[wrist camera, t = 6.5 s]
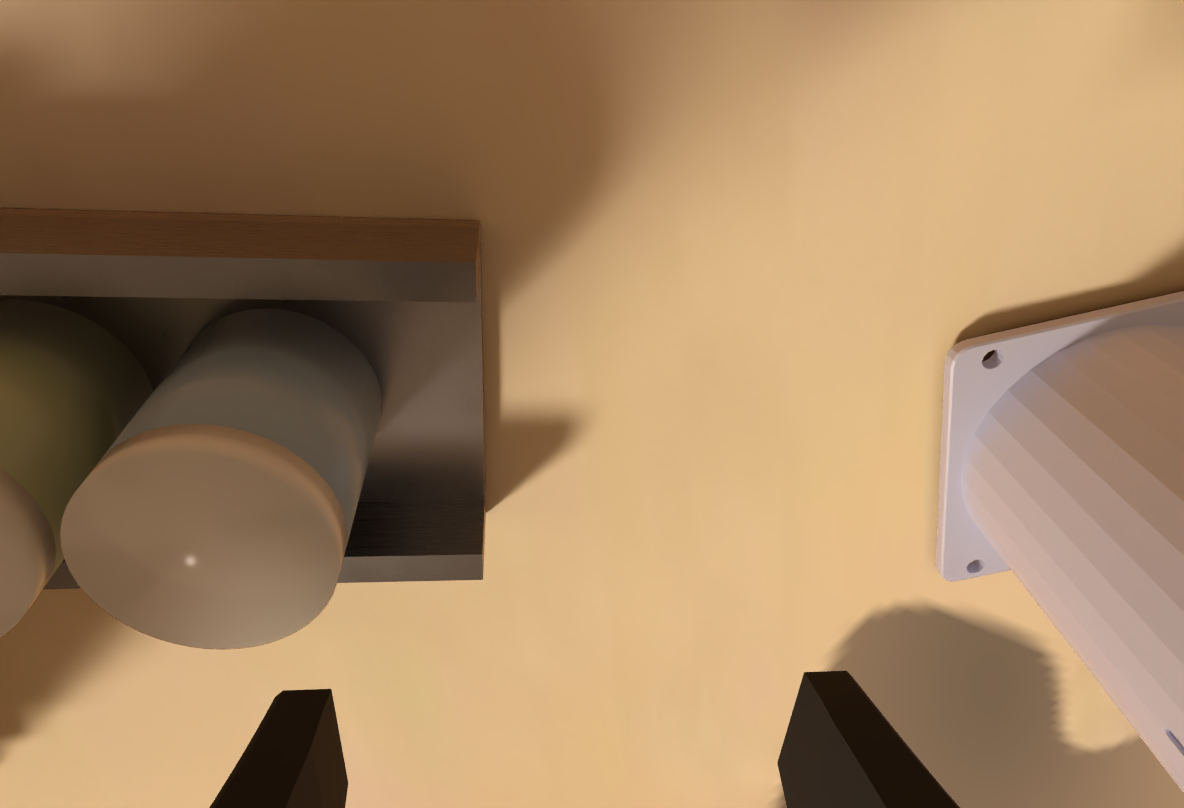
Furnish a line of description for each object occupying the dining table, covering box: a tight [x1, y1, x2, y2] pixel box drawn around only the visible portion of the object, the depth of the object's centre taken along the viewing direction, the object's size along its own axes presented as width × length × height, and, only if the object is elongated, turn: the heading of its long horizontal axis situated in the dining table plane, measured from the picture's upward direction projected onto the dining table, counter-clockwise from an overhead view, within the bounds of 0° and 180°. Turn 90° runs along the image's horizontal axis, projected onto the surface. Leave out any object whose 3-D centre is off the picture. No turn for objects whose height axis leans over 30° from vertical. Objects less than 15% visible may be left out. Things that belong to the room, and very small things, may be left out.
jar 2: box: [60, 308, 382, 649], centre depth 15 cm, size 4×4×5 cm
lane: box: [0, 208, 486, 589], centre depth 16 cm, size 18×8×4 cm, turn 86°
